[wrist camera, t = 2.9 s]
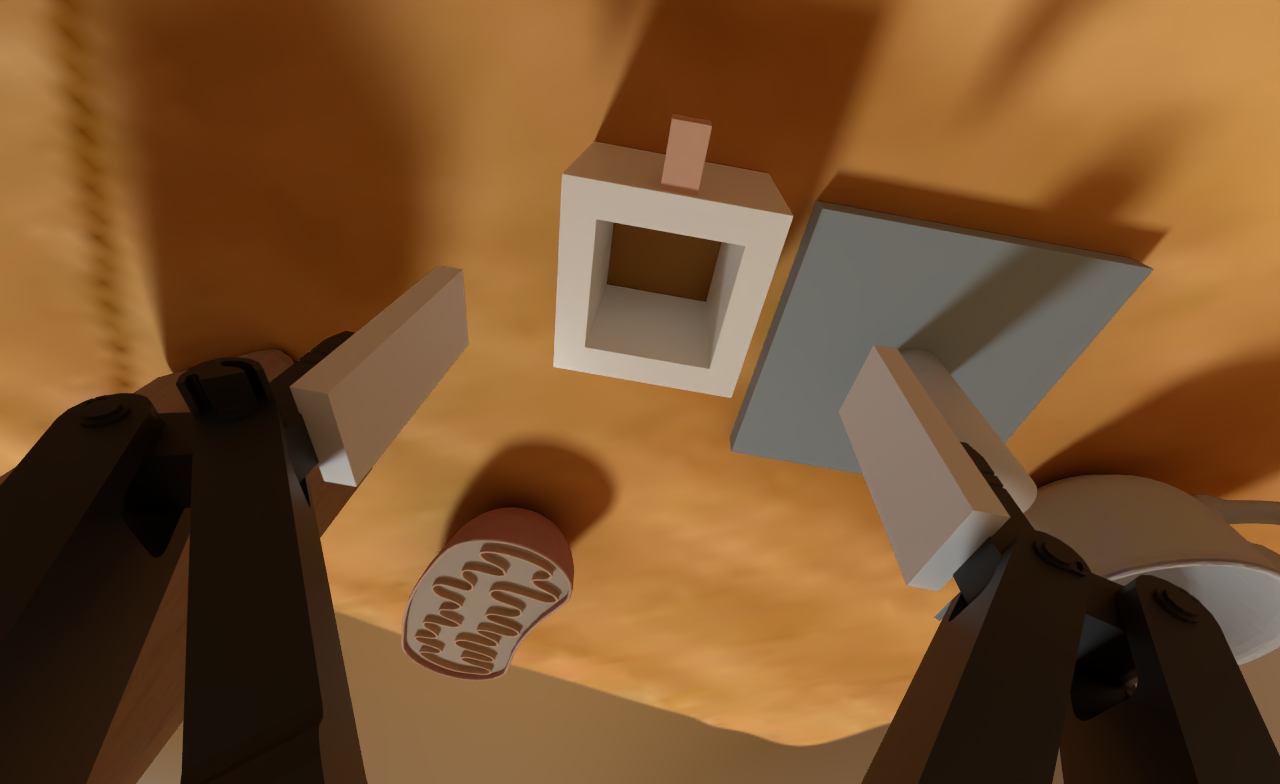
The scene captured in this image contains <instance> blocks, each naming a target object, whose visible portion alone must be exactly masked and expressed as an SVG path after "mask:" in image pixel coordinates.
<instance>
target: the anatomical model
mask: <svg viewBox="0 0 1280 784" xmlns="http://www.w3.org/2000/svg"><path fill="white" fill-rule="evenodd" d="M573 578H574V565H573V558H572V553H571V550H570V547H569V545H568V543H567V541H566V538H565V537H564V535H563V534H562V532H561V531H560V530H559V529H558V528H557V527H556V526H555V524H554V523H553V522H552V521H550V520H549V519H547V518H546V517H544V516H542V515H541V514H539V513H537V512H534V511H531V510H528V509H524V508H515V507H507V508H499V509H495V510H491V511H488V512H485V513H483V514H481V515H479V516H477V517H476V518H474V519H472V520H471V521H469V522H467V523H466V524H465V525H464V526H462V527H461V528H460V529H459V530H458V531H457V532H456V534H455V535H454V536H453V537H452V538H451V539H450V541H449V542H448V543H447V544H446V545H445V547H444V548H443V549H442V550H441V551H440V552H439V554H438V555H437V556H436V557H435V558H434V559H433V561H432V562H431V563H430V565H429V566H428V567H427V569H426V570H425V572H424V573H423V575H422V576H421V578H420V579H419V581H418V582H417V584H416V585H415V587H414V589H413V591H412V593H411V595H410V597H409V600H408V603H407V606H406V609H405V612H404V617H403V622H402V639H401V644H402V649H403V651H404V653H405V654H406V655H407V656H408V657H409V658H410V659H412V660H413V661H414V662H415V663H417V664H419V665H421V666H422V667H424V668H426V669H428V670H431V671H433V672H436V673H438V674H441V675H445V676H449V677H453V678H457V679H464V680H474V681H475V680H490V679H495V678H499V677H501V676H502V675H504V674H505V673H506V672H507V670H508V668H509V665H510V663H511V660H512V658H513V655H514V654H515V652H516V650H517V648H518V647H519V645H520V644H521V642H522V641H523V640H524V638H525V637H526V636H527V635H528V634H529V633H530V632H531V631H532V630H533V629H534V628H535V627H536V626H537V625H538V624H540V623H541V622H542V621H543V620H544V619H546V618H547V617H548V616H550V615H551V614H552V613H553V612H555V611H556V610H557V609H559V608H560V607H561V606H563V605H564V604H565V603H566V602H568V601H569V599H570V597H571V594H572V590H573Z"/></svg>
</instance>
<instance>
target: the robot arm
mask: <svg viewBox="0 0 1280 784" xmlns="http://www.w3.org/2000/svg"><path fill="white" fill-rule="evenodd" d="M468 345H469V343H468V331H467V318H466V305H465V293H464V280H463V269H458V268H453V267H447V266H442V265H438V266H437V267H435V268H434V269H433V270H432V271H430V272H429V273H428V274H427V275H426V276H424V277H423V278H422V279H421V280H419V281H418V282H417V283H416V284H415V285H413V286H412V287H411V288H410V289H408V290H407V291H406V292H405V293H404V294H402V295H401V296H400V297H399V298H397V299H396V300H395V301H394V302H393V303H391V304H390V305H389V306H388V307H386V308H385V309H384V310H383V311H382V312H380V313H379V314H378V315H377V316H375V317H374V318H373V319H372V320H371V321H369V322H368V323H367V324H366V325H364V326H363V327H362V328H361V329H360V330H358V331H357V332H356V333H354V332H349V331H345V332H342V333H340V334H337V335H335V336H332V337H330V338H327V339H325V340H324V341H323V342H321V343H320V344H319V345H317V346H316V347H315V348H313V349H312V350H311V353H310V352H308V353H307V354H306V355H304V356H303V357H302V358H300V361H299V362H295V363H294V364H293V365H291V366H290V367H289V368H287V369H286V370H285V371H284V372H282V373H281V374H280V375H278V376H277V377H276V378H274V379H273V380H272V381H271V382H269V381H268V379H267V376H266V374H265V371H264V369H263V367H262V365H261V364H260V363H259V362H257V361H255V360H252V359H249V358H240V357H231V358H220V359H216V360H211V361H207V362H204V363H201V364H199V365H197V366H194V367H192V368H190V369H188V370H187V371H186V372H184V373H183V374H182V375H180V376H179V378H178V380H177V382H176V386H177V388H178V390H179V391H180V393H181V395H182V397H183V399H184V401H185V402H186V404H187V406H188V408H189V410H190V412H180V413H158V412H157V410H156V409H155V407H154V405H153V404H152V402H151V401H150V400H149V399H148V398H147V397H146V396H142V395H139V394H132V393H119V394H113V395H104V396H100V397H96V398H94V399H93V398H92V399H89V400H87V401H84V402H82V403H80V404H78V405H76V406H74V407H72V408H70V409H68V410H67V411H65V412H64V413H63V414H62V415H61V416H59V417H58V418H57V419H56V420H55V421H54V423H53V424H52V425H51V426H50V427H49V428H48V430H47V431H46V432H45V433H44V434H43V436H42V437H41V438H40V439H39V440H38V441H37V443H36V444H35V445H34V446H33V447H32V449H31V450H30V451H29V452H28V453H27V455H26V456H25V457H24V458H23V459H22V460H21V462H20V463H19V464H18V465H17V466H16V468H15V469H14V470H13V471H12V472H11V473H10V475H9V476H8V477H7V478H6V479H5V481H4V482H3V483H2V484H1V485H0V784H86V783H87V780H88V778H89V776H90V773H91V771H92V768H93V766H94V763H95V761H96V759H97V756H98V754H99V751H100V749H101V747H102V744H103V742H104V739H105V737H106V735H107V732H108V730H109V727H110V725H111V722H112V720H113V718H114V715H115V713H116V710H117V708H118V706H119V703H120V701H121V698H122V696H123V693H124V691H125V689H126V686H127V684H128V681H129V679H130V677H131V674H132V672H133V669H134V667H135V664H136V662H137V660H138V657H139V655H140V652H141V650H142V648H143V645H144V643H145V640H146V638H147V635H148V633H149V631H150V628H151V626H152V623H153V621H154V619H155V616H156V614H157V611H158V609H159V606H160V604H161V602H162V599H163V597H164V594H165V592H166V590H167V587H168V585H169V582H170V580H171V577H172V575H173V573H174V570H175V568H176V565H177V563H178V561H179V558H180V556H181V553H182V551H183V548H184V546H185V544H186V541H187V539H188V536H189V534H190V545H189V575H188V604H187V634H186V664H185V693H184V724H183V752H182V755H183V756H182V775H181V783H180V784H368V783H367V780H366V775H365V771H364V766H363V761H362V755H361V750H360V745H359V739H358V734H357V729H356V724H355V718H354V713H353V708H352V703H351V698H350V693H349V688H348V683H347V677H346V672H345V666H344V661H343V656H342V651H341V645H340V641H339V635H338V630H337V625H336V619H335V614H334V609H333V604H332V599H331V593H330V588H329V583H328V578H327V572H326V567H325V562H324V557H323V552H322V546H321V541H320V536H319V531H318V526H317V520H316V515H315V510H314V505H313V499H312V494H311V489H310V485H309V482H308V480H307V477H306V476H307V474H308V473H309V472H310V471H311V470H312V469H313V468H314V467H315V466H316V465H317V464H318V466H319V468H320V471H321V474H322V477H323V479H324V481H326V482H332V483H337V484H343V485H348V486H354V487H357V486H358V485H359V483H360V482H361V481H362V479H363V478H364V477H365V476H366V474H367V473H368V472H369V471H370V469H371V468H372V467H373V465H374V464H375V463H376V462H377V460H378V459H379V458H380V457H381V455H382V454H383V453H384V451H385V450H386V449H387V448H388V446H389V445H390V444H391V443H392V441H393V440H394V439H395V437H396V436H397V435H398V434H399V432H400V431H401V430H402V429H403V427H404V426H405V425H406V423H407V422H408V421H409V420H410V418H411V417H412V416H413V415H414V413H415V412H416V411H417V409H418V408H419V407H420V406H421V404H422V403H423V402H424V401H425V399H426V398H427V397H428V395H429V394H430V393H431V392H432V390H433V389H434V388H435V387H436V385H437V384H438V383H439V381H440V380H441V379H442V378H443V376H444V375H445V374H446V373H447V371H448V370H449V369H450V367H451V366H452V365H453V364H454V362H455V361H456V360H457V359H458V357H459V356H460V355H461V353H462V352H463V351H464V350H465V348H466V347H467V346H468ZM839 414H840V417H841V419H842V422H843V424H844V427H845V429H846V432H847V435H848V437H849V440H850V442H851V445H852V447H853V450H854V452H855V455H856V457H857V460H858V463H859V465H860V468H861V470H862V473H863V475H864V478H865V480H866V483H867V485H868V488H869V491H870V493H871V496H872V498H873V501H874V503H875V506H876V508H877V511H878V513H879V516H880V519H881V521H882V524H883V526H884V529H885V531H886V534H887V536H888V539H889V542H890V544H891V547H892V549H893V552H894V554H895V557H896V559H897V562H898V564H899V567H900V570H901V572H902V575H903V577H904V580H905V582H906V585H907V586H912V587H917V588H923V589H929V590H934V591H939V590H940V589H941V588H942V587H943V586H944V585H945V584H946V583H947V582H948V581H949V580H950V579H951V578H952V577H954V579H955V581H956V583H957V585H958V587H959V589H960V591H961V592H960V593H959V594H958V595H957V596H956V597H955V598H954V599H952V600H951V601H950V602H949V603H948V604H947V605H946V606H945V607H944V608H943V609H942V610H941V611H940V612H939V613H938V614H937V615H936V616H935V618H936V619H938V620H939V621H940V620H941V619H942V618H943V619H942V621H941V623H940V625H939V627H938V629H937V631H936V633H935V635H934V637H933V639H932V641H931V643H930V645H929V647H928V649H927V651H926V653H925V655H924V657H923V660H922V662H921V664H920V666H919V668H918V670H917V672H916V674H915V676H914V678H913V680H912V682H911V684H910V686H909V688H908V690H907V692H906V694H905V696H904V698H903V700H902V702H901V704H900V706H899V708H898V710H897V712H896V714H895V716H894V718H893V720H892V722H891V724H890V726H889V728H888V730H887V733H886V734H885V737H884V738H883V741H882V743H881V745H880V747H879V749H878V751H877V753H876V755H875V757H874V759H873V761H872V763H871V765H870V767H869V769H868V771H867V773H866V775H865V777H864V779H863V781H862V783H861V784H1052V781H1053V776H1054V771H1055V766H1056V761H1057V756H1058V750H1059V747H1060V755H1061V764H1062V772H1063V779H1064V784H1280V756H1279V753H1278V751H1277V749H1276V747H1275V745H1274V743H1273V740H1272V738H1271V736H1270V734H1269V732H1268V730H1267V727H1266V725H1265V723H1264V721H1263V719H1262V716H1261V714H1260V712H1259V710H1258V708H1257V706H1256V704H1255V701H1254V699H1253V697H1252V695H1251V693H1250V690H1249V688H1248V686H1247V684H1246V682H1245V679H1244V677H1243V675H1242V673H1241V671H1240V669H1239V666H1238V664H1237V662H1236V660H1235V658H1234V655H1233V653H1232V651H1231V649H1230V647H1229V645H1228V642H1227V640H1226V638H1225V636H1224V634H1223V631H1222V629H1221V627H1220V625H1219V624H1218V622H1217V621H1216V619H1215V618H1214V616H1213V615H1212V613H1211V612H1210V611H1208V610H1207V609H1206V608H1205V607H1204V606H1203V605H1202V604H1201V602H1200V601H1199V600H1198V599H1197V598H1195V597H1194V596H1193V595H1190V594H1189V592H1187V591H1186V590H1184V589H1182V588H1181V587H1178V586H1176V585H1174V584H1172V583H1171V582H1169V581H1167V580H1164V579H1161V578H1158V577H1156V576H1153V575H1140V576H1138V577H1137V578H1135V579H1134V580H1132V581H1131V582H1130V583H1128V584H1127V585H1125V586H1123V585H1121V584H1118V583H1116V582H1113V581H1111V580H1108V579H1106V578H1103V577H1101V576H1099V575H1096V574H1094V573H1091V570H1090V568H1089V567H1088V565H1087V564H1086V562H1085V561H1084V559H1083V558H1082V557H1081V556H1080V555H1079V554H1078V553H1077V552H1076V551H1075V550H1074V549H1072V548H1071V547H1070V546H1068V545H1067V544H1065V543H1064V542H1062V541H1061V540H1060V539H1058V538H1056V537H1054V536H1051V535H1049V534H1047V533H1045V532H1041V531H1037V530H1035V529H1034V528H1033V526H1032V525H1031V524H1030V522H1029V521H1028V519H1027V518H1026V517H1025V515H1024V514H1023V512H1022V511H1021V509H1020V508H1019V507H1018V505H1017V504H1016V502H1015V501H1014V500H1013V498H1012V497H1011V495H1010V494H1009V493H1008V491H1007V490H1006V489H1005V488H1003V486H1004V485H1003V484H1002V483H1001V481H1000V480H999V478H998V477H997V476H994V471H993V470H992V468H991V467H990V466H989V464H988V463H987V461H986V460H985V459H984V457H983V456H981V455H980V454H979V453H978V452H977V451H976V450H974V449H973V448H972V447H971V446H970V445H969V444H968V443H965V442H960V441H959V440H958V438H957V437H956V435H955V434H954V432H953V431H952V429H951V428H950V427H949V425H948V424H947V422H946V421H945V419H944V418H943V416H942V415H941V413H940V412H939V410H938V409H937V407H936V406H935V404H934V403H933V401H932V400H931V398H930V397H929V395H928V394H927V392H926V391H925V389H924V388H923V386H922V385H921V383H920V382H919V381H918V379H917V378H916V376H915V375H914V373H913V372H912V370H911V369H910V367H909V366H908V364H907V363H906V361H905V360H904V358H903V357H902V355H901V354H900V352H899V351H898V349H894V348H888V347H883V346H877V345H873V347H872V349H871V351H870V353H869V355H868V356H867V358H866V360H865V362H864V364H863V366H862V368H861V370H860V372H859V374H858V376H857V378H856V380H855V381H854V383H853V385H852V387H851V389H850V391H849V393H848V395H847V397H846V399H845V401H844V403H843V404H842V406H841V408H840V410H839ZM1135 684H1137V687H1135Z"/></svg>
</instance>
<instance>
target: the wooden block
mask: <svg viewBox="0 0 1280 784" xmlns="http://www.w3.org/2000/svg"><path fill="white" fill-rule="evenodd" d="M238 357H240V358H249V359H252V360H255V361H257V362H259V363H260V364H261V365H262V367H263V369H264V371H265V374H266V376H267V379H268V381H269V382H271V381H272V380H273V379H274V378H276V377H277V376H278V375H280V374H281V373H282V372H284V371H285V370H286V369H287V368H289V367H290V366H291V365H293V364H294V361H293V360H292V359H291V358H290V357H289V356H288V355H286V354H285V353H283V352H282V351H280V350H277V349H267V350H261V351H257V352H253V353H249V354H245V355H242V356H238ZM186 371H187V370H185V371H181V372H177V373H173V374H169V375H166V376H162V377H158V378H157V379H155V380H153V381H152V382H150V383H149V384H147V385H145V386H144V387H142V388H141V389H139V390H137V391H136V392H134V393H133V394H139V395H142V396H146V397H147V398H148V399H149V400H150V401H151V402H152V404H153V405H154V407H155V409H156V410H157V412H158V413H180V412H190V410H189V408H188V406H187V404H186V402H185V401H184V399H183V397H182V395H181V393H180V391H179V390H178V388H177V386H176V382H177V380H178V378H179V376H180V375H182V374H183V373H184V372H186ZM15 468H16V467H15ZM15 468H13V469H12V470H10V471H9V472H7V473H6V474H4V475H2V476H1V477H0V485H1V484H2V483H3V482H4V481H5V479H6V478H7V477H8V476H9V475H10V473H11V472H12V471H13V470H14V469H15ZM371 469H372V468H371ZM371 469H370V471H371ZM370 471H369V472H370ZM369 472H368V473H369ZM368 473H367V474H366V476H367V475H368ZM366 476H365V477H366ZM306 477H307V480H308V482H309V485H310V489H311V494H312V499H313V505H314V510H315V515H316V520H317V526H318V531H319V536H320V537H321V536H322V535H323V533H324V532H325V531H326V529H327V528H328V527H329V525H330V524H331V523H332V521H333V520H334V519H335V517H336V516H337V515H338V513H339V512H340V511H341V509H342V508H343V507H344V505H345V504H346V503H347V501H348V500H349V499H350V497H351V496H352V495H353V493H354V492H355V491H356V489H357V488H358V487H359V485H360V484H361V483H362V481H363V480H364V479H365V477H364V478H363V479H362V481H361V482H360V483H359V485H358V486H357V487H354V486H348V485H343V484H337V483H332V482H326V481H324V479H323V477H322V474H321V471H320V468H319V466H318V464H317V465H316V466H315V467H314V468H313V469H312V470H311V471H310V472H309V473H308V474H307V476H306ZM189 545H190V534H189V536H188V539H187V541H186V544H185V546H184V548H183V551H182V553H181V556H180V558H179V561H178V563H177V565H176V568H175V570H174V573H173V575H172V577H171V580H170V582H169V585H168V587H167V590H166V592H165V594H164V597H163V599H162V602H161V604H160V606H159V609H158V611H157V614H156V616H155V619H154V621H153V623H152V626H151V628H150V631H149V633H148V635H147V638H146V640H145V643H144V645H143V648H142V650H141V652H140V655H139V657H138V660H137V662H136V664H135V667H134V669H133V672H132V674H131V677H130V679H129V681H128V684H127V686H126V689H125V691H124V693H123V696H122V698H121V701H120V703H119V706H118V708H117V710H116V713H115V715H114V718H113V720H112V722H111V725H110V727H109V730H108V732H107V735H106V737H105V739H104V742H103V744H102V747H101V749H100V751H99V754H98V756H97V759H96V761H95V763H94V766H93V768H92V771H91V773H90V776H89V778H88V780H87V783H86V784H136V783H137V782H138V780H139V779H140V777H141V776H142V775H143V774H144V772H145V771H146V769H147V768H148V767H149V766H150V764H151V763H152V762H153V760H154V759H155V757H156V756H157V755H158V754H159V752H160V751H161V749H162V748H163V747H164V746H165V744H166V743H167V742H168V740H169V739H170V738H171V736H172V735H173V734H174V732H175V731H176V730H177V728H178V727H179V725H180V724H181V723H182V721H183V720H184V693H185V664H186V634H187V604H188V575H189Z"/></svg>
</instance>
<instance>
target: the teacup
mask: <svg viewBox="0 0 1280 784" xmlns="http://www.w3.org/2000/svg"><path fill="white" fill-rule="evenodd" d="M1023 514H1024V515H1025V517H1026V518H1027V519H1028V521H1029V522H1030V524H1031V525H1032V526H1033V528H1034V529H1035V530H1037V531H1041V532H1045V533H1047V534H1049V535H1051V536H1054V537H1056V538H1058V539H1060V540H1061V541H1062V542H1064V543H1065V544H1067V545H1068V546H1070V547H1071V548H1072V549H1074V550H1075V551H1076V552H1077V553H1078V554H1079V555H1080V556H1081V557H1082V558H1083V559H1084V561H1085V562H1086V564H1087V565H1088V567H1089V568H1090V570H1091V573H1094V574H1096V575H1099V576H1101V577H1103V578H1106V579H1108V580H1111V581H1113V582H1116V583H1118V584H1121V585H1123V586H1125V585H1127V584H1128V583H1130V582H1131V581H1132V580H1134V579H1135V578H1137V577H1138V576H1140V575H1153V576H1156V577H1158V578H1161V579H1164V580H1167V581H1169V582H1171V583H1172V584H1174V585H1176V586H1178V587H1181V588H1182V589H1184V590H1186V591H1187V592H1189V594H1190V595H1193V596H1194V597H1195V598H1197V599H1198V600H1199V601H1200V602H1201V604H1202V605H1203V606H1204V607H1205V608H1206V609H1207V610H1208V611H1210V612H1211V613H1212V615H1213V616H1214V618H1215V619H1216V621H1217V622H1218V624H1219V625H1220V627H1221V629H1222V631H1223V634H1224V636H1225V638H1226V640H1227V642H1228V645H1229V647H1230V649H1231V651H1232V653H1233V655H1234V658H1235V660H1236V662H1237V664H1238V665H1241V664H1244V663H1247V662H1249V661H1252V660H1254V659H1256V658H1259V657H1261V656H1263V655H1265V654H1267V653H1269V652H1271V651H1273V650H1275V649H1277V648H1279V647H1280V555H1279V554H1277V553H1276V552H1274V551H1272V550H1270V549H1268V548H1266V547H1265V546H1262V545H1259V544H1253V543H1251V542H1249V541H1247V540H1246V539H1245V538H1244V537H1242V536H1241V535H1240V534H1239V533H1238V532H1237V531H1236V530H1235V529H1233V528H1232V527H1231V526H1230V525H1229V524H1242V523H1260V524H1276V525H1280V502H1274V501H1253V500H1222V499H1219V498H1216V497H1213V496H1210V495H1204V494H1196V495H1192V496H1191V495H1189V494H1187V493H1185V492H1184V491H1182V490H1180V489H1178V488H1176V487H1173V486H1171V485H1169V484H1167V483H1164V482H1160V481H1157V480H1153V479H1150V478H1145V477H1139V476H1132V475H1082V476H1076V477H1069V478H1065V479H1061V480H1057V481H1054V482H1052V483H1049V484H1047V485H1044V486H1042V487H1040V488H1038V489H1037V496H1036V499H1035V501H1034V502H1033V504H1032V505H1031V506H1030V508H1029V509H1028V510H1026V511H1025V512H1024V513H1023Z"/></svg>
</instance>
